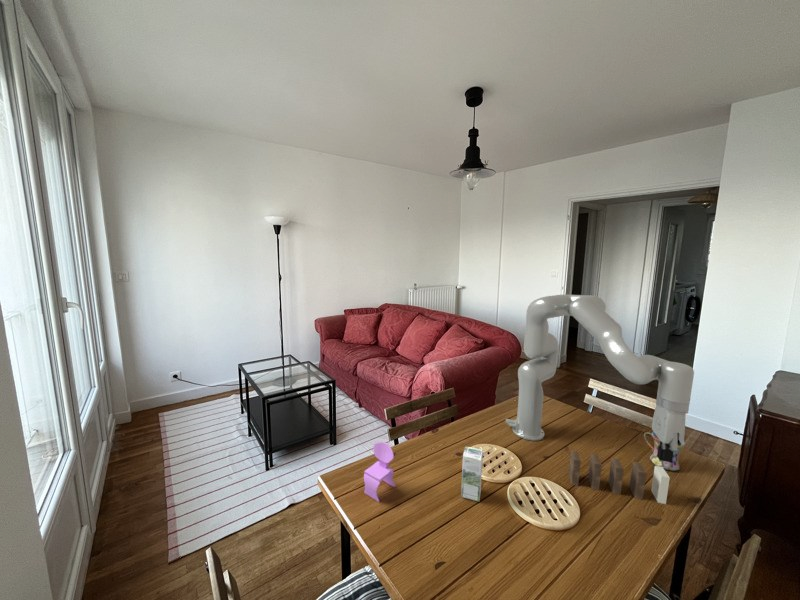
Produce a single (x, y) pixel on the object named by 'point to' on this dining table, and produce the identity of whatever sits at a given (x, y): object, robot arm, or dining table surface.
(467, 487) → the syrup box
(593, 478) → the tile
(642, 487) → the tile
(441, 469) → the dining table surface
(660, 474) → the white end domino
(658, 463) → the mug
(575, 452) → the tile
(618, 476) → the tile
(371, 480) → the toy chair
